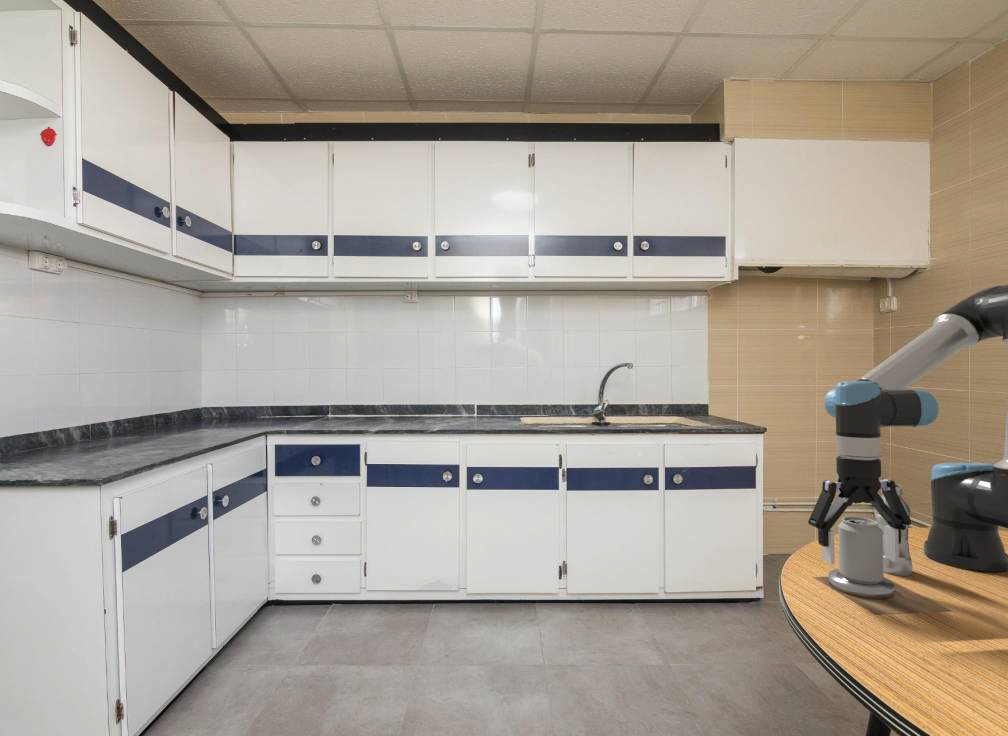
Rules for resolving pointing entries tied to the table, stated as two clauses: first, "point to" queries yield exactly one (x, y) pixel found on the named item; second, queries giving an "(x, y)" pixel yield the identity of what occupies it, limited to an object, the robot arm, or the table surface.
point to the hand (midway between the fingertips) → (860, 560)
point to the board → (894, 601)
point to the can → (860, 550)
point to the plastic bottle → (905, 560)
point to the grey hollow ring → (861, 587)
